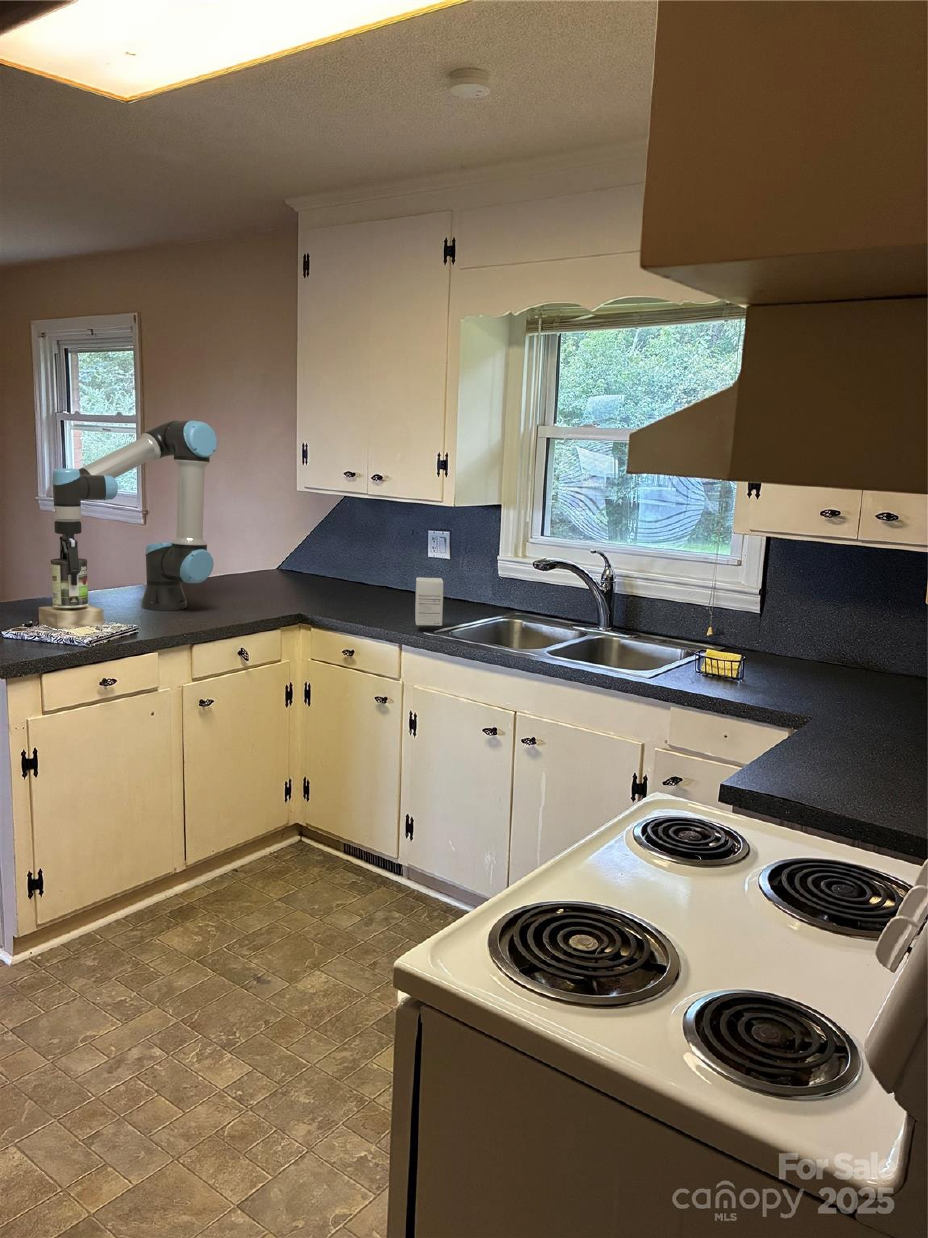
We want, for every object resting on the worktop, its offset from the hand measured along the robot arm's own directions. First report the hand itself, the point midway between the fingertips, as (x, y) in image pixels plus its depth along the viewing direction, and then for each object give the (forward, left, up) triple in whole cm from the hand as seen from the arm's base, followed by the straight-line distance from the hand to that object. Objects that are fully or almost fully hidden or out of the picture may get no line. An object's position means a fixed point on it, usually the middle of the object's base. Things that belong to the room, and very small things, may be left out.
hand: (70, 593), depth 285 cm
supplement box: (-106, +36, -11) cm, 112 cm away
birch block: (0, 0, -11) cm, 11 cm away
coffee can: (0, 0, -4) cm, 4 cm away
